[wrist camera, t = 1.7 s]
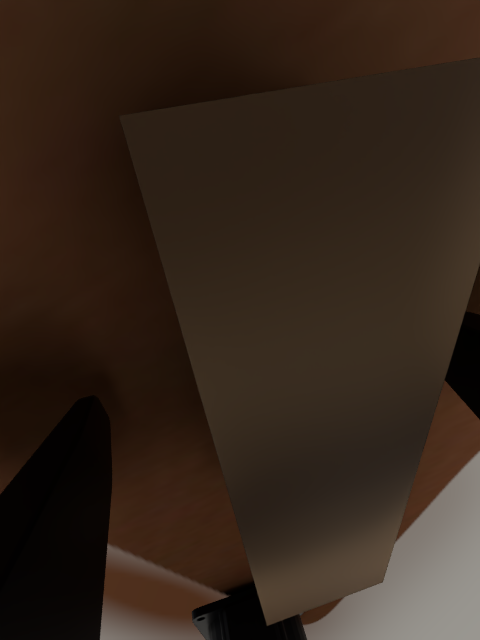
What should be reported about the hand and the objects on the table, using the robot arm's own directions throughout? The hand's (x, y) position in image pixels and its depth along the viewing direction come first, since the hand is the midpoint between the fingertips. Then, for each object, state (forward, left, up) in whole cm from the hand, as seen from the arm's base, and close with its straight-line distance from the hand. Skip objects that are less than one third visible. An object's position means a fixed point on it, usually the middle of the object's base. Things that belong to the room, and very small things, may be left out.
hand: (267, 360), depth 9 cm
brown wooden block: (0, 0, -1) cm, 1 cm away
